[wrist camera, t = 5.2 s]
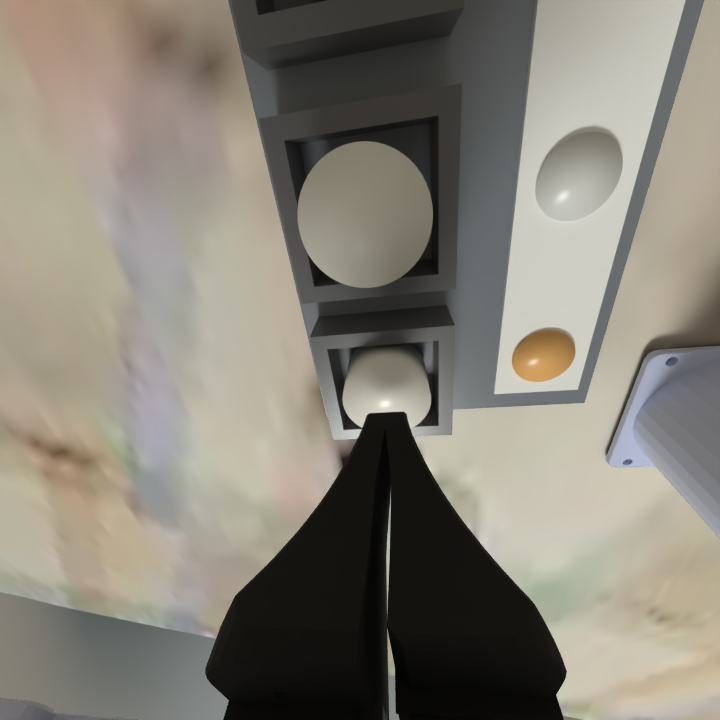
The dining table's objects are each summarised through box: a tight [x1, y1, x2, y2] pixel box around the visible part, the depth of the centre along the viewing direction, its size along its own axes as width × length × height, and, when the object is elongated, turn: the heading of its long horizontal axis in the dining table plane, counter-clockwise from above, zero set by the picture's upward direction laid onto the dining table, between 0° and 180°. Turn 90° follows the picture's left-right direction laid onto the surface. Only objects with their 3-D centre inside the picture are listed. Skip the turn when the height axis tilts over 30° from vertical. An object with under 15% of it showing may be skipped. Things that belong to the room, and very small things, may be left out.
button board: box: [228, 0, 704, 440], centre depth 11 cm, size 13×20×4 cm, turn 7°
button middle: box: [297, 141, 433, 288], centre depth 10 cm, size 4×4×2 cm
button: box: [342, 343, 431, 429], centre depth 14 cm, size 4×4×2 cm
